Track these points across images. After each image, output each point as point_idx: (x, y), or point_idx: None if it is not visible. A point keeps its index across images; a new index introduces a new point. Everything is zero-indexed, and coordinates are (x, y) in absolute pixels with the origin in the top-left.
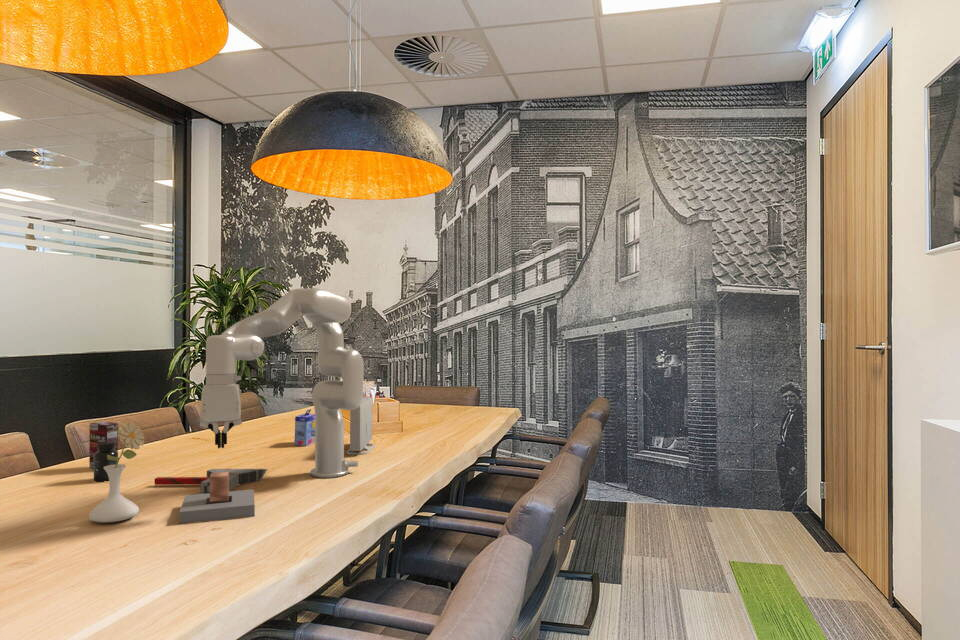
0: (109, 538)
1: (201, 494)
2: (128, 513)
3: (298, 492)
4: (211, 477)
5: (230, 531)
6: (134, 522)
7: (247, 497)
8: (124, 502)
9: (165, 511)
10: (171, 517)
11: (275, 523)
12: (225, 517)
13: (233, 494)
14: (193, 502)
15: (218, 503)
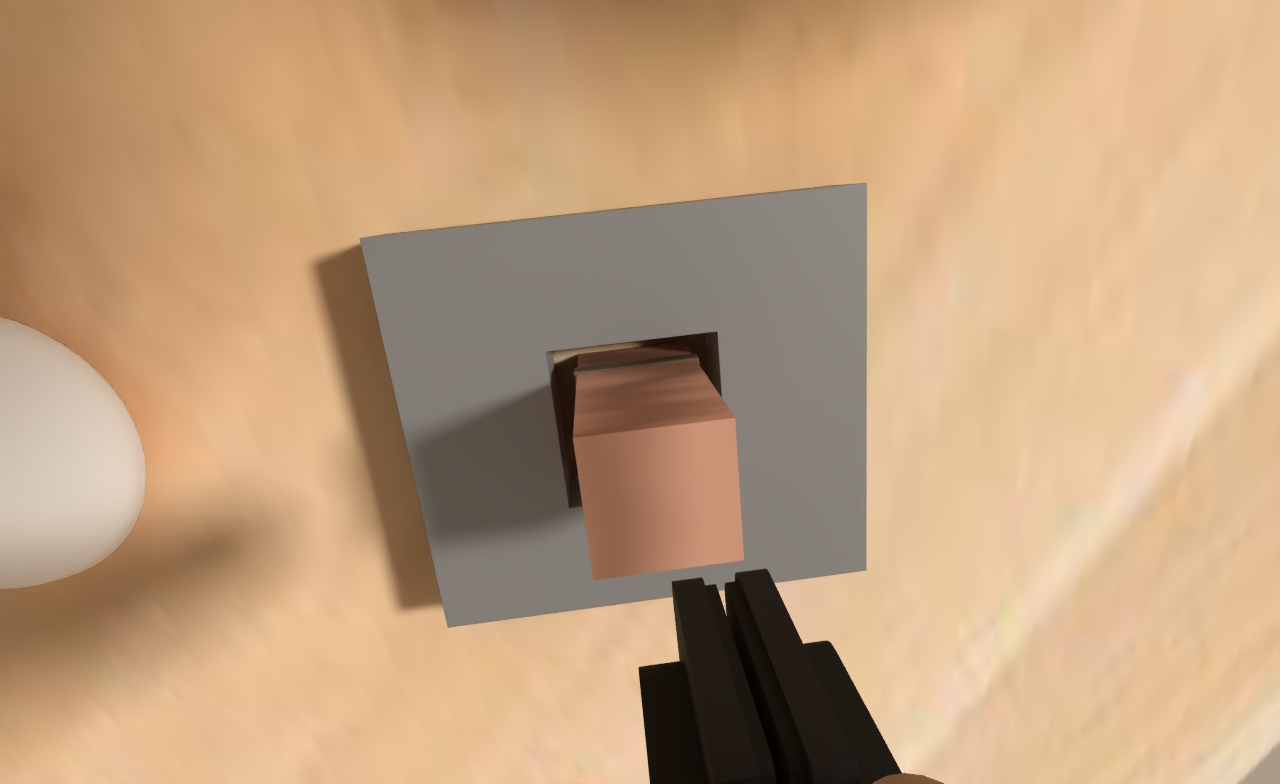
0: (183, 733)
1: (484, 243)
2: (112, 539)
3: (1149, 52)
4: (605, 577)
5: None
6: (188, 518)
7: (823, 402)
8: (6, 523)
9: (291, 332)
10: (377, 467)
11: (934, 658)
12: None
13: (724, 300)
14: (479, 447)
15: None
